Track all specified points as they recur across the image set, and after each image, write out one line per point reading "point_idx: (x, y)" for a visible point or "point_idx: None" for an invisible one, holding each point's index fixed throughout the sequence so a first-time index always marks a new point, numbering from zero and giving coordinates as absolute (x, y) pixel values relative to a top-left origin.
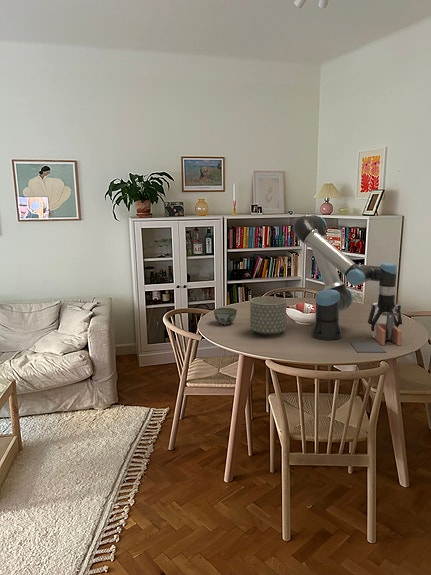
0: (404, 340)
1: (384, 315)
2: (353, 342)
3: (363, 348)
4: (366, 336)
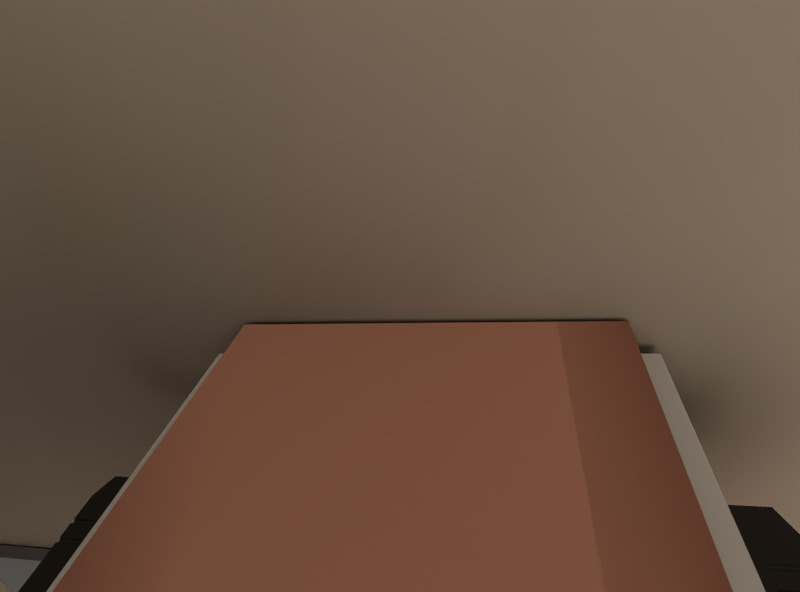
0: (791, 494)
1: None
2: (11, 560)
3: None
4: (120, 297)
